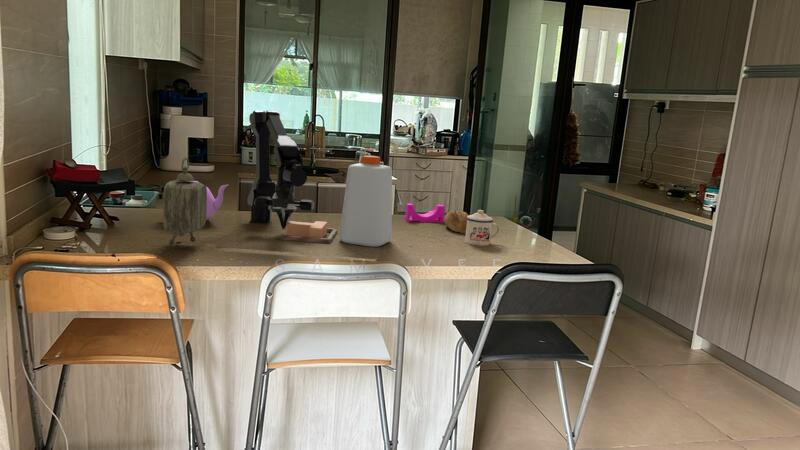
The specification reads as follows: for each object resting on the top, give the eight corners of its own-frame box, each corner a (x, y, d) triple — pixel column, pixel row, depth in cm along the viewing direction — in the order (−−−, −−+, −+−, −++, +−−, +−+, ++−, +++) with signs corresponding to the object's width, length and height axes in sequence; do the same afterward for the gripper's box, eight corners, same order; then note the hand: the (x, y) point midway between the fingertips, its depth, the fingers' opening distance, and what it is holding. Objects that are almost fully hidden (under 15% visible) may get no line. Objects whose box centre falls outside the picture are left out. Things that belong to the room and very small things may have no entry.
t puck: (283, 237, 194) (284, 225, 193) (291, 230, 205) (292, 219, 205) (320, 240, 193) (321, 228, 193) (326, 233, 205) (327, 221, 204)
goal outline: (275, 239, 191) (276, 235, 190) (288, 228, 209) (288, 224, 209) (329, 243, 190) (329, 239, 190) (337, 232, 208) (337, 228, 208)
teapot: (232, 218, 220) (233, 180, 217) (223, 226, 205) (224, 186, 202) (170, 214, 218) (170, 176, 215) (157, 222, 202) (157, 182, 200)
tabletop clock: (176, 235, 185) (177, 154, 180) (207, 237, 186) (208, 156, 181) (163, 246, 171) (163, 158, 166) (195, 248, 172) (196, 160, 167)
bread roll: (451, 235, 219) (453, 213, 217) (439, 227, 233) (440, 207, 232) (475, 236, 221) (477, 214, 220) (462, 227, 235) (464, 207, 234)
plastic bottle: (377, 248, 188) (384, 159, 183) (334, 242, 193) (339, 155, 188) (395, 240, 202) (401, 157, 197) (354, 234, 207) (359, 153, 202)
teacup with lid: (467, 245, 203) (470, 211, 200) (461, 239, 212) (464, 207, 209) (501, 247, 204) (505, 213, 202) (494, 241, 213) (498, 209, 211)
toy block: (439, 221, 246) (440, 203, 244) (443, 224, 240) (445, 206, 238) (403, 220, 242) (404, 202, 241) (406, 223, 236) (408, 204, 235)
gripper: (250, 182, 189) (249, 231, 192) (309, 187, 188) (307, 236, 191) (259, 179, 200) (258, 225, 203) (315, 183, 199) (313, 229, 202)
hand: (283, 228), depth 199 cm, fingers closed
